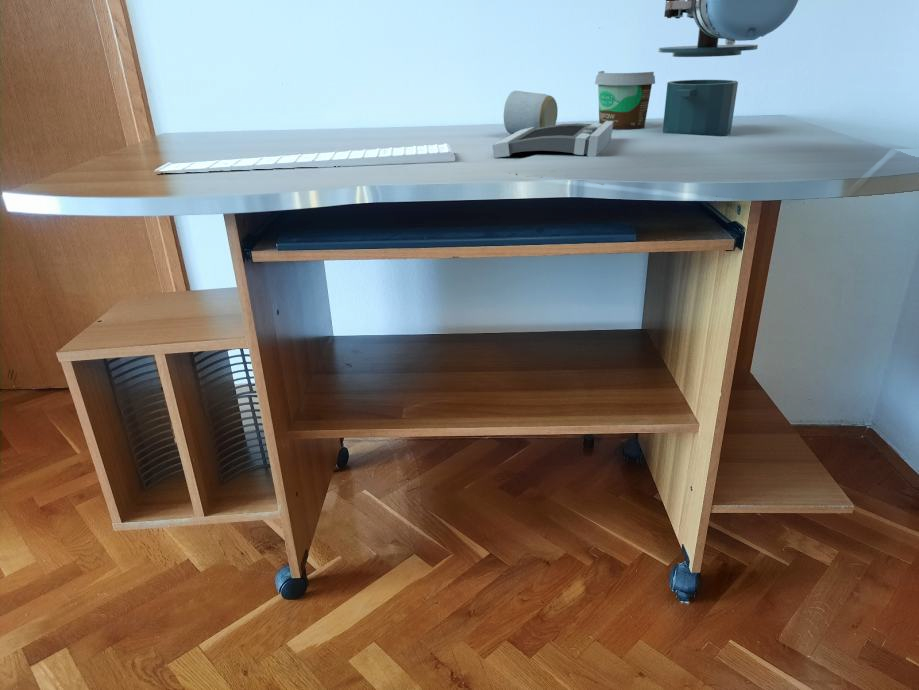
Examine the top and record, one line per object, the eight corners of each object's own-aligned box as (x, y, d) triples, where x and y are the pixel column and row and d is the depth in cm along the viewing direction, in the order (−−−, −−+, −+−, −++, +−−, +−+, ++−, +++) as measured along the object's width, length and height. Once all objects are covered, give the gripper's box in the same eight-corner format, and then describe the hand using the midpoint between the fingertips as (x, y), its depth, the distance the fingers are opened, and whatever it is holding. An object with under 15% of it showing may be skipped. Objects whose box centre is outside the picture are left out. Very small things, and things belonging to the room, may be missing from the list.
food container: (579, 127, 127) (582, 72, 123) (598, 123, 131) (601, 70, 127) (632, 132, 119) (637, 73, 115) (651, 128, 123) (656, 71, 118)
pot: (743, 128, 118) (751, 78, 115) (711, 141, 107) (719, 86, 103) (682, 125, 125) (687, 78, 121) (645, 136, 113) (650, 85, 110)
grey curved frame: (598, 136, 93) (490, 126, 97) (593, 168, 95) (488, 157, 99) (613, 121, 107) (519, 113, 112) (609, 149, 109) (517, 140, 114)
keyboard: (153, 175, 95) (150, 165, 94) (170, 166, 102) (168, 155, 101) (455, 161, 97) (454, 150, 97) (451, 152, 105) (451, 142, 104)
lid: (768, 52, 88) (780, -24, 84) (739, 56, 79) (751, -28, 75) (678, 54, 95) (685, -16, 91) (643, 58, 86) (649, -20, 82)
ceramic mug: (542, 138, 115) (544, 92, 112) (502, 136, 119) (502, 92, 116) (565, 131, 123) (567, 88, 120) (526, 130, 127) (527, 88, 124)
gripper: (652, 41, 72) (646, 38, 93) (804, 36, 69) (763, 34, 89) (659, -36, 69) (651, -21, 89) (819, -46, 65) (772, -28, 86)
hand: (707, 6), depth 89 cm, fingers closed on lid, 3 cm apart
